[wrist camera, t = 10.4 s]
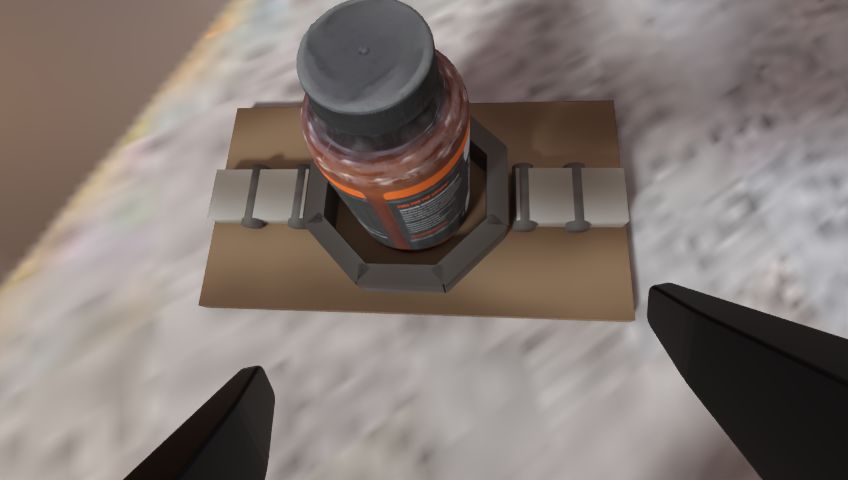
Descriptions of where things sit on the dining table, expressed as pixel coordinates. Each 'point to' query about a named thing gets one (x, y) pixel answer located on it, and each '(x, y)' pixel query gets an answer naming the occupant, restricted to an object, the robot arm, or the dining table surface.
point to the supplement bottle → (387, 121)
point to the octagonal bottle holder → (452, 260)
